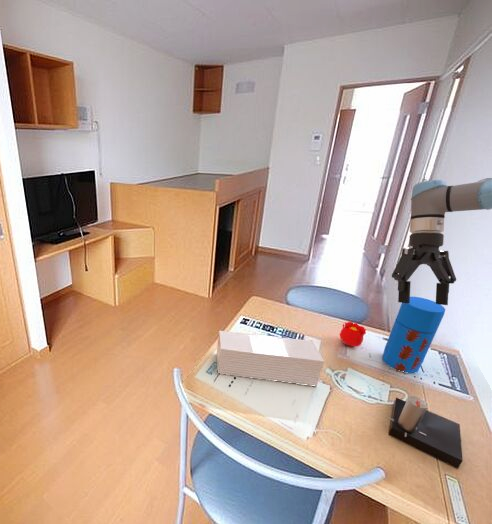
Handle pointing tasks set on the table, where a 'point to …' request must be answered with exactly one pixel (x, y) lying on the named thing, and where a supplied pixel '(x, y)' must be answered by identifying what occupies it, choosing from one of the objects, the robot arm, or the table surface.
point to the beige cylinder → (412, 414)
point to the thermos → (412, 334)
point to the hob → (430, 435)
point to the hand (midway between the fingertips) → (422, 303)
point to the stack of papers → (268, 358)
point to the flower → (352, 334)
